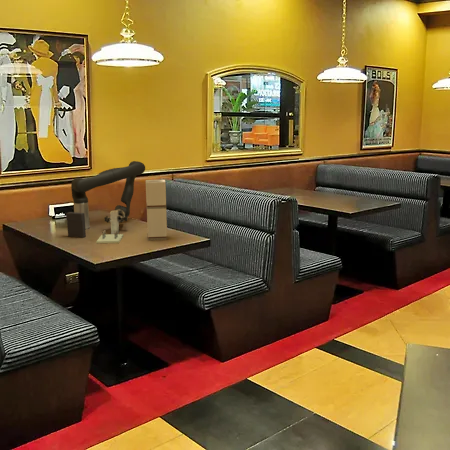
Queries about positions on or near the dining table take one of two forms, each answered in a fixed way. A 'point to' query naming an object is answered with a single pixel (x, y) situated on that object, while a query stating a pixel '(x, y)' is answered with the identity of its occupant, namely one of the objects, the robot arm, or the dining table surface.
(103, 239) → the pin tray
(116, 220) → the block
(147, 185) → the beige rectangular tower
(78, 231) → the dark brown upright block
